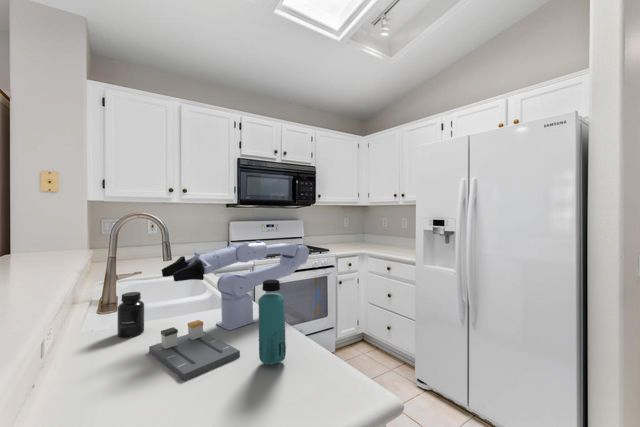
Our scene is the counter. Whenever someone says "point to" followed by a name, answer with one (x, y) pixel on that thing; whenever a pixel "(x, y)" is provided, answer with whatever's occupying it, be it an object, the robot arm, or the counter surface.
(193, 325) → the fader orange
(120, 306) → the supplement bottle
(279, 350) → the beverage bottle
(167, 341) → the fader black
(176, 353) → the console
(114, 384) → the counter surface
